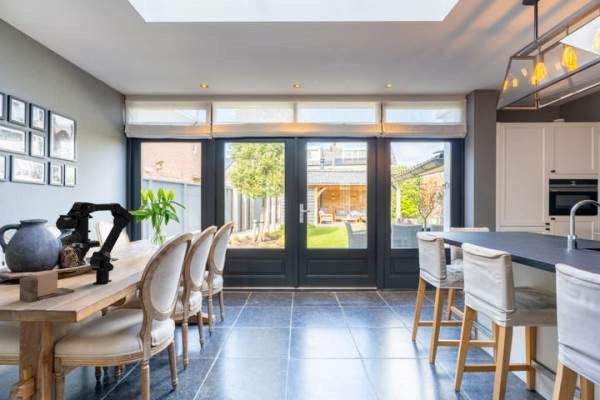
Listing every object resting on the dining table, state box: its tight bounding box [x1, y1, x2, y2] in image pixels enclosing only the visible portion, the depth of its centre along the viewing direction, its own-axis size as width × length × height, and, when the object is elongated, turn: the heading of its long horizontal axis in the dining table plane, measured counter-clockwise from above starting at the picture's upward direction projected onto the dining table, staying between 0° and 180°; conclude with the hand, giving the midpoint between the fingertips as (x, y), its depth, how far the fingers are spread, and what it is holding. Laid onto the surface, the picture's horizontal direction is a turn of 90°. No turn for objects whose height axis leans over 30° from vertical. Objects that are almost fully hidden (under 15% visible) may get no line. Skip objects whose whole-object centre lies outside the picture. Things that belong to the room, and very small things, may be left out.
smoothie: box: [63, 247, 78, 267], centre depth 192 cm, size 8×8×20 cm
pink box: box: [28, 270, 59, 297], centre depth 145 cm, size 8×6×9 cm
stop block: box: [19, 276, 75, 303], centre depth 147 cm, size 18×9×9 cm, turn 157°
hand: (80, 261), depth 159 cm, fingers closed
